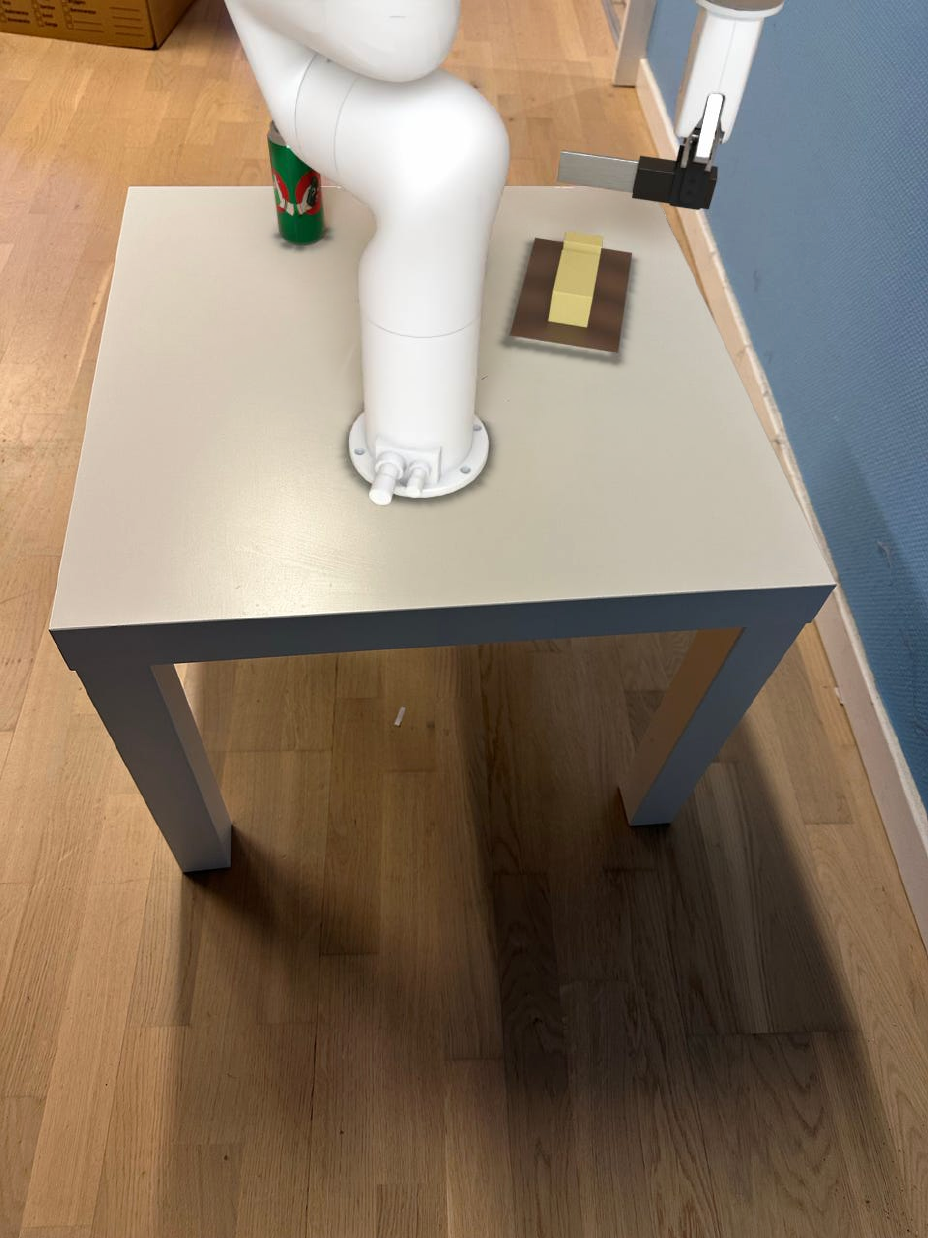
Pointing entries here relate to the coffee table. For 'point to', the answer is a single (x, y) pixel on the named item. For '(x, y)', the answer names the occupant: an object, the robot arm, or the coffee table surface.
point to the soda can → (295, 193)
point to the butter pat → (583, 243)
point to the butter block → (574, 288)
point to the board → (604, 305)
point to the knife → (626, 175)
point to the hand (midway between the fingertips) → (685, 196)
